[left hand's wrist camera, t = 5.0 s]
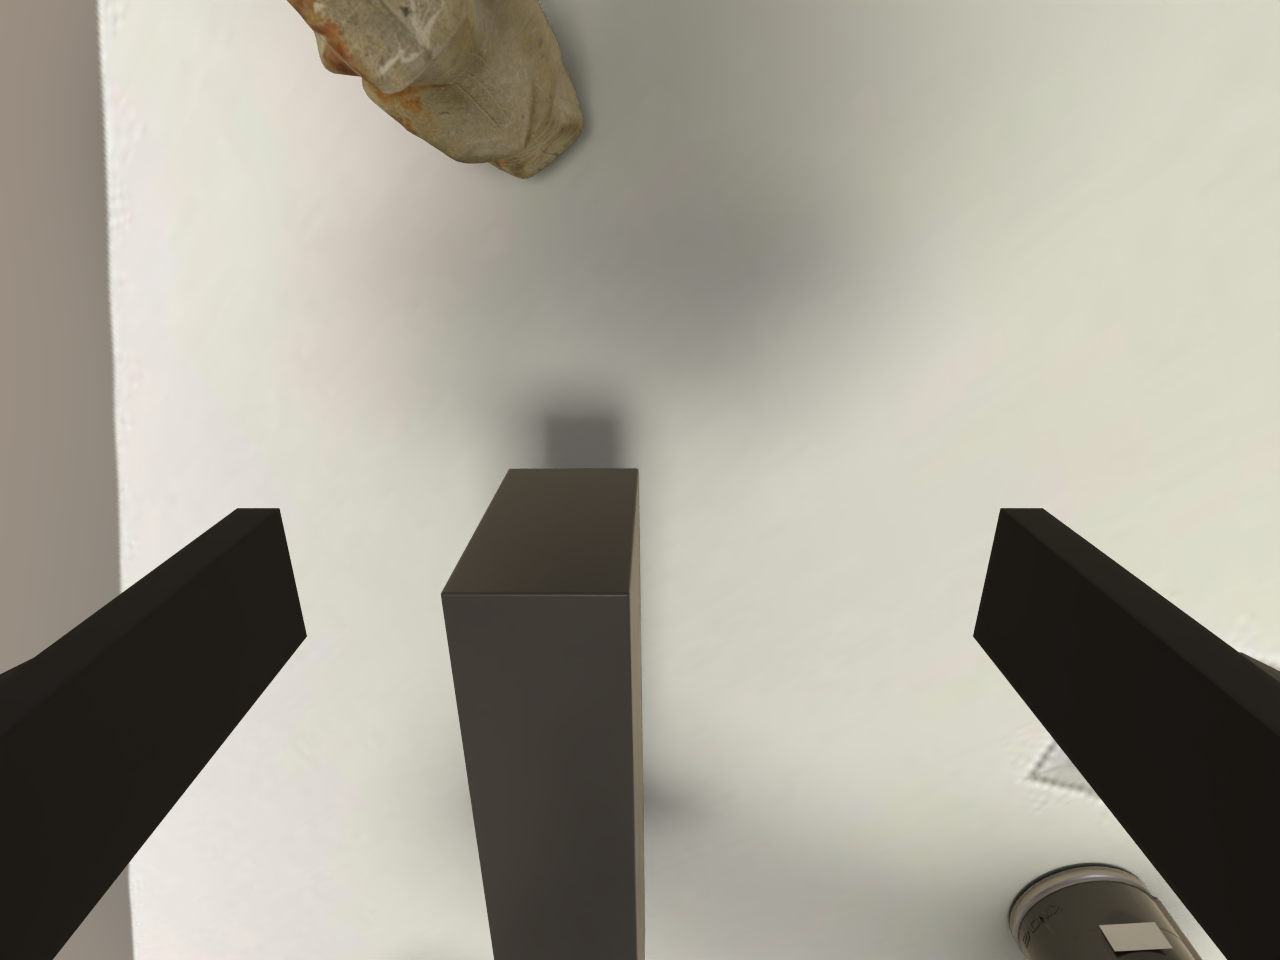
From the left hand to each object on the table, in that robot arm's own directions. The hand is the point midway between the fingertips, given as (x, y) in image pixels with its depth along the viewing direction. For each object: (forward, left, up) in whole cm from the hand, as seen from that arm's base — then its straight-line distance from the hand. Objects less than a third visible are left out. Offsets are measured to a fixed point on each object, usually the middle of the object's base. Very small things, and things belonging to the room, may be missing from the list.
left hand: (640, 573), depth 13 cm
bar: (+18, +2, -14) cm, 23 cm away
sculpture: (-9, -8, -22) cm, 25 cm away
